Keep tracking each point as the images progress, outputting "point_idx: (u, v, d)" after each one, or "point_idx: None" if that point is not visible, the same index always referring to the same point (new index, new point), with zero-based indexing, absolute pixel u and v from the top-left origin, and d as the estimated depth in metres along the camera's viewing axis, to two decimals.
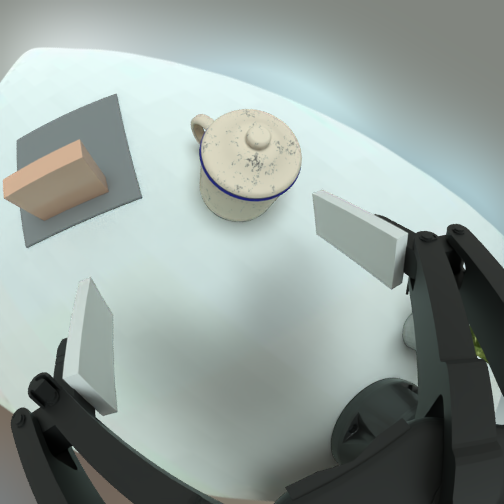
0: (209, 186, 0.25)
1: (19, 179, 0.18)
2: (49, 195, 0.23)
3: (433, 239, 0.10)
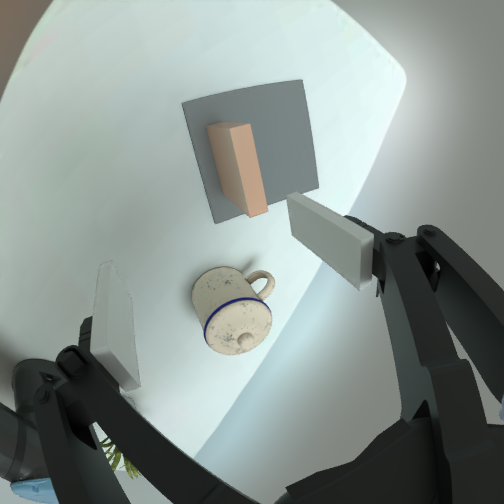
0: (216, 296, 0.35)
1: (244, 148, 0.25)
2: (225, 159, 0.29)
3: (400, 240, 0.11)
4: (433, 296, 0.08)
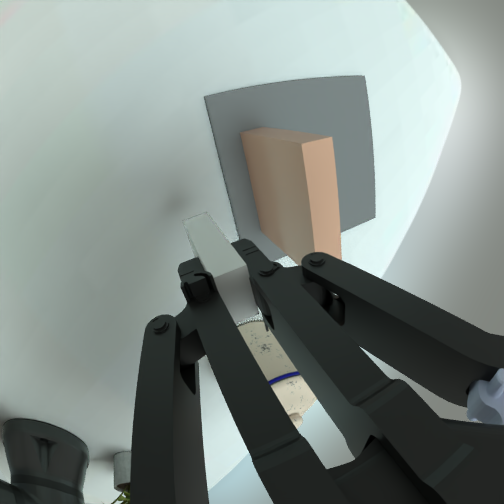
0: None
1: (321, 178, 0.15)
2: (277, 189, 0.19)
3: (275, 269, 0.11)
4: (334, 322, 0.08)
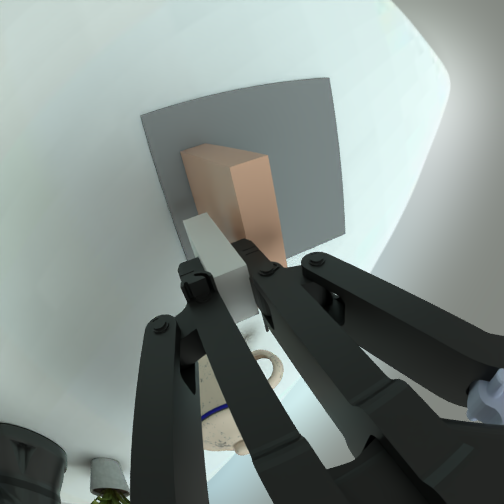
0: (203, 393, 0.23)
1: (257, 203, 0.14)
2: (217, 214, 0.17)
3: (274, 269, 0.11)
4: (333, 322, 0.08)
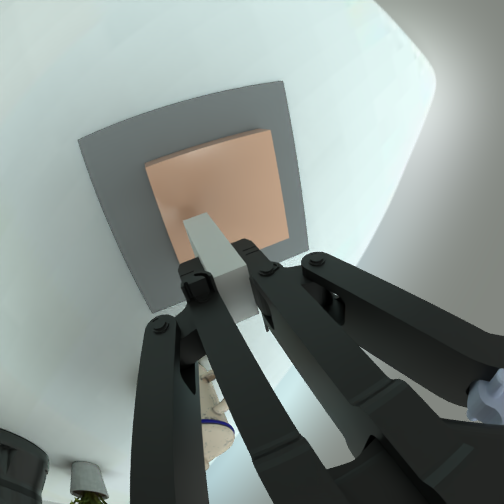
0: None
1: None
2: (230, 191, 0.20)
3: (274, 269, 0.11)
4: (333, 322, 0.08)
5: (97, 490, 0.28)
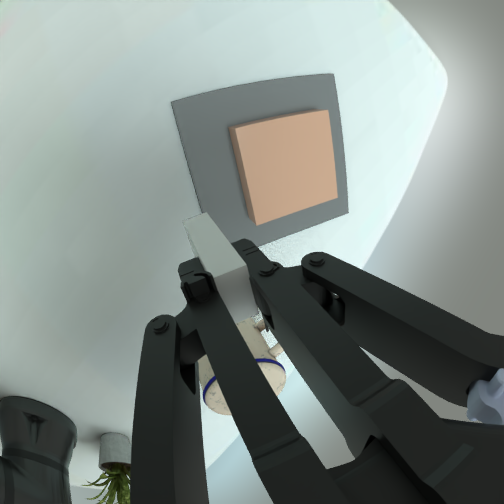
0: None
1: None
2: (297, 154, 0.24)
3: (275, 269, 0.11)
4: (334, 322, 0.08)
5: (128, 461, 0.33)
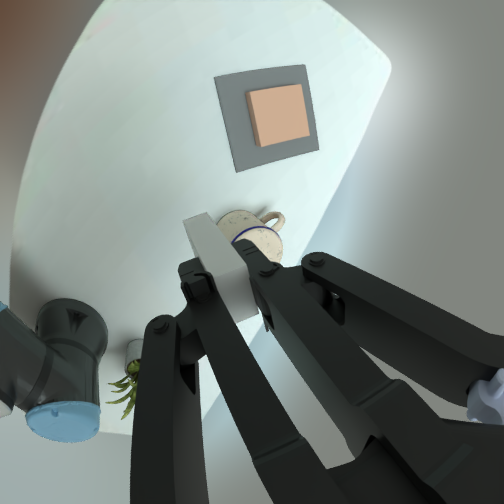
0: (237, 227, 0.43)
1: None
2: (284, 107, 0.41)
3: (275, 269, 0.11)
4: (334, 322, 0.08)
5: None
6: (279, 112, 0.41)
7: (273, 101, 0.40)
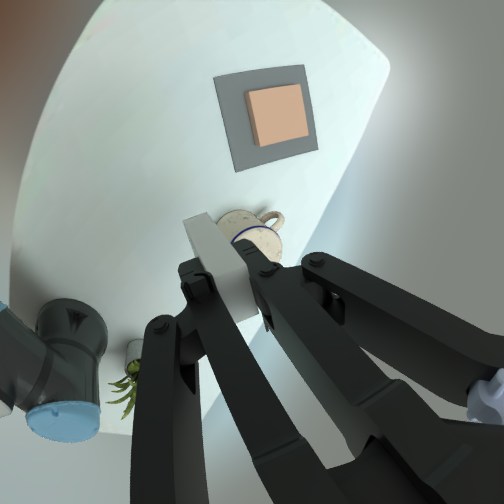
0: (236, 227, 0.43)
1: None
2: (283, 107, 0.41)
3: (274, 269, 0.11)
4: (333, 322, 0.08)
5: None
6: (278, 112, 0.41)
7: (272, 101, 0.40)
